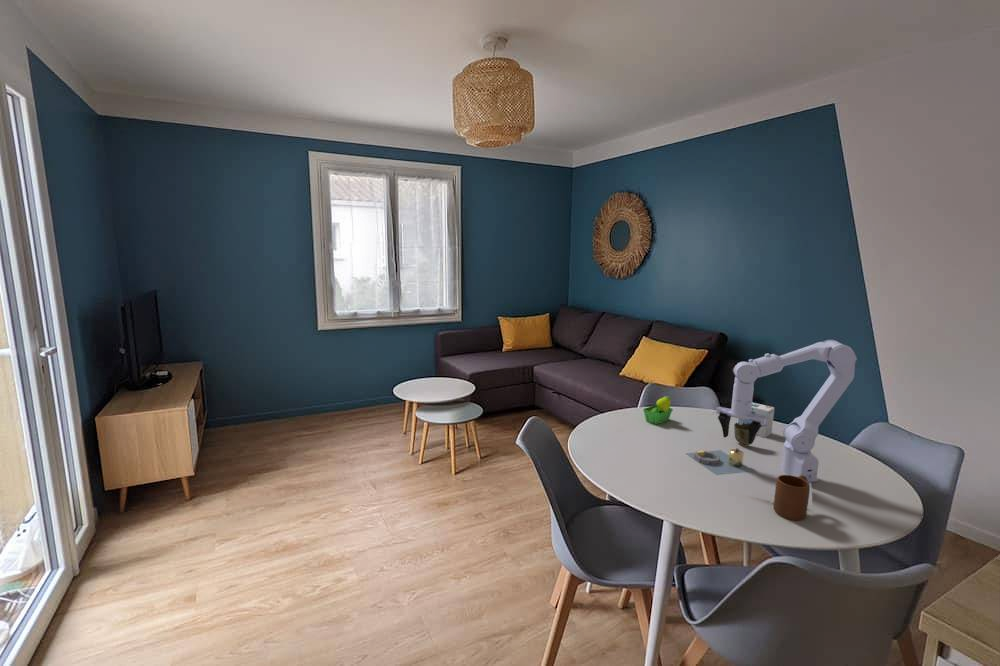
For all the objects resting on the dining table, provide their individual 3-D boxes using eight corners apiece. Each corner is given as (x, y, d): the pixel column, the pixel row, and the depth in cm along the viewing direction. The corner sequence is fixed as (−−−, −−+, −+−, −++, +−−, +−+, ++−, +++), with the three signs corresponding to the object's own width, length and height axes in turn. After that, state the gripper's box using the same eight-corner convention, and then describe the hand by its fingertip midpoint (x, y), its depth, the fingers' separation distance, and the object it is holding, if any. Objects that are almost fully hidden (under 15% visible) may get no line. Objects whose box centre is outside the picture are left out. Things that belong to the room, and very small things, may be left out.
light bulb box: (736, 430, 188) (739, 403, 186) (743, 426, 192) (746, 400, 190) (765, 438, 180) (769, 410, 178) (772, 433, 184) (775, 407, 183)
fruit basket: (656, 415, 203) (658, 389, 201) (675, 421, 197) (677, 394, 195) (641, 420, 196) (643, 394, 194) (660, 427, 189) (662, 400, 188)
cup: (750, 443, 174) (752, 422, 173) (758, 451, 167) (761, 430, 166) (729, 442, 175) (731, 421, 174) (736, 450, 168) (739, 429, 167)
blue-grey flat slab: (754, 473, 150) (755, 466, 150) (715, 477, 147) (716, 470, 147) (720, 452, 166) (721, 446, 165) (684, 456, 162) (685, 449, 162)
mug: (786, 498, 135) (790, 467, 134) (816, 509, 130) (821, 477, 128) (768, 511, 128) (772, 479, 126) (799, 524, 122) (803, 491, 121)
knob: (741, 468, 152) (743, 454, 151) (727, 465, 154) (729, 451, 153) (742, 463, 155) (744, 449, 154) (729, 460, 157) (730, 447, 156)
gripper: (771, 402, 148) (766, 443, 151) (723, 392, 159) (719, 430, 161) (763, 407, 144) (758, 449, 146) (715, 396, 154) (711, 435, 156)
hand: (737, 439), depth 153 cm, fingers open, 7 cm apart
